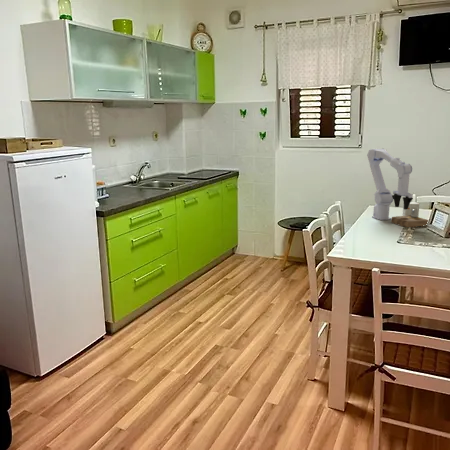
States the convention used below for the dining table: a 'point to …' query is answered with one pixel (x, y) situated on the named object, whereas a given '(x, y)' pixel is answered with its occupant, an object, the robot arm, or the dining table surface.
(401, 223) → the board
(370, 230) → the dining table surface
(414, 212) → the pin
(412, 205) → the small box
